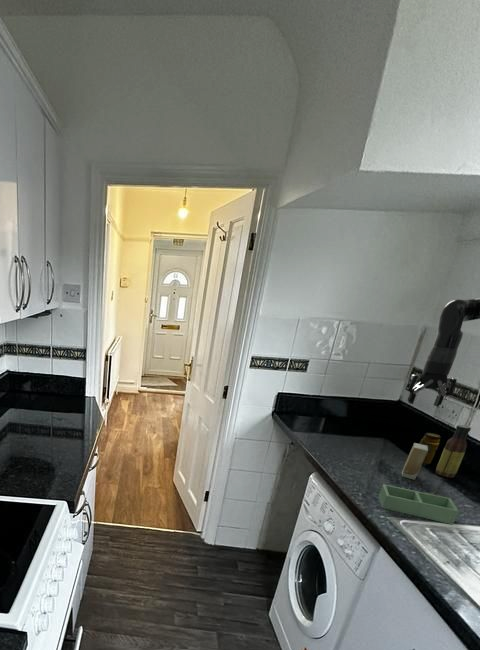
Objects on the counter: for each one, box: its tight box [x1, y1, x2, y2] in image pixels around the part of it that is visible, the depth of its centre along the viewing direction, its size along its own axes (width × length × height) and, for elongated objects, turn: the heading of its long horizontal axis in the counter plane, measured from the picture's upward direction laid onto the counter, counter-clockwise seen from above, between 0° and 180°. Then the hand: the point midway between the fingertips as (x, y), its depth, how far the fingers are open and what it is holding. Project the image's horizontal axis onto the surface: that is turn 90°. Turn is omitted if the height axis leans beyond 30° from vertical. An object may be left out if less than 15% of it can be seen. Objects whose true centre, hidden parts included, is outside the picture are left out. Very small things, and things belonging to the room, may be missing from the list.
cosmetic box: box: [401, 442, 428, 481], centre depth 155 cm, size 6×4×12 cm
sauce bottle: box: [435, 424, 472, 479], centre depth 156 cm, size 7×6×20 cm
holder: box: [378, 483, 460, 525], centre depth 131 cm, size 18×10×5 cm, turn 63°
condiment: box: [405, 432, 442, 465], centre depth 169 cm, size 7×8×12 cm
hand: (423, 404), depth 153 cm, fingers open, 8 cm apart
